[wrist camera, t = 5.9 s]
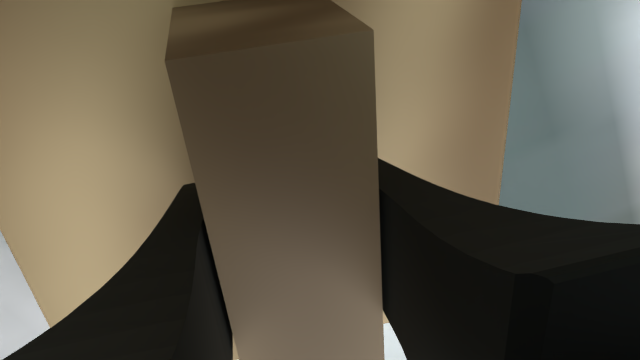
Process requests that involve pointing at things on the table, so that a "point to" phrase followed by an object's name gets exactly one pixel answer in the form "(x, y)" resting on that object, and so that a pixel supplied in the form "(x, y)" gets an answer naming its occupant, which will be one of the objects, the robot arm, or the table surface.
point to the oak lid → (244, 144)
